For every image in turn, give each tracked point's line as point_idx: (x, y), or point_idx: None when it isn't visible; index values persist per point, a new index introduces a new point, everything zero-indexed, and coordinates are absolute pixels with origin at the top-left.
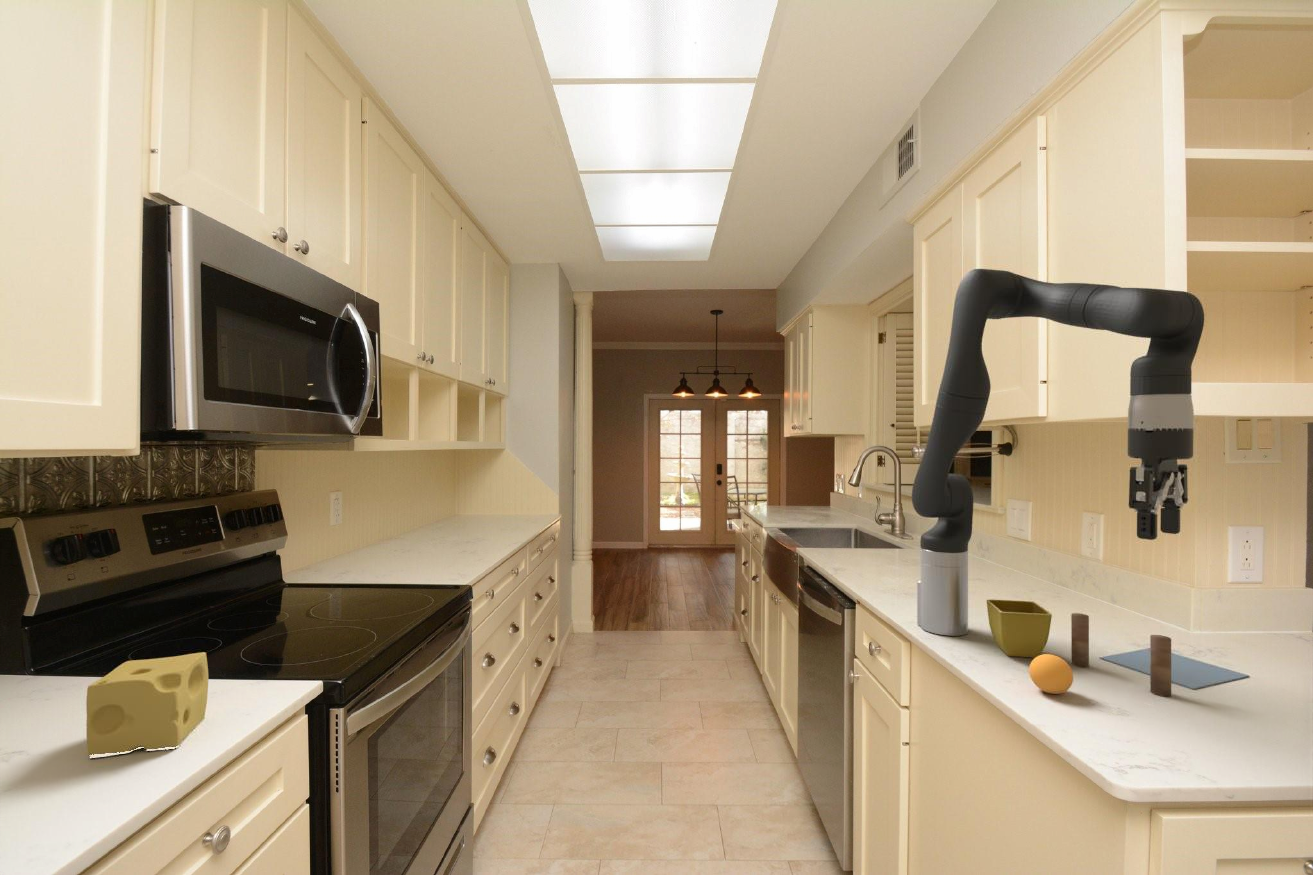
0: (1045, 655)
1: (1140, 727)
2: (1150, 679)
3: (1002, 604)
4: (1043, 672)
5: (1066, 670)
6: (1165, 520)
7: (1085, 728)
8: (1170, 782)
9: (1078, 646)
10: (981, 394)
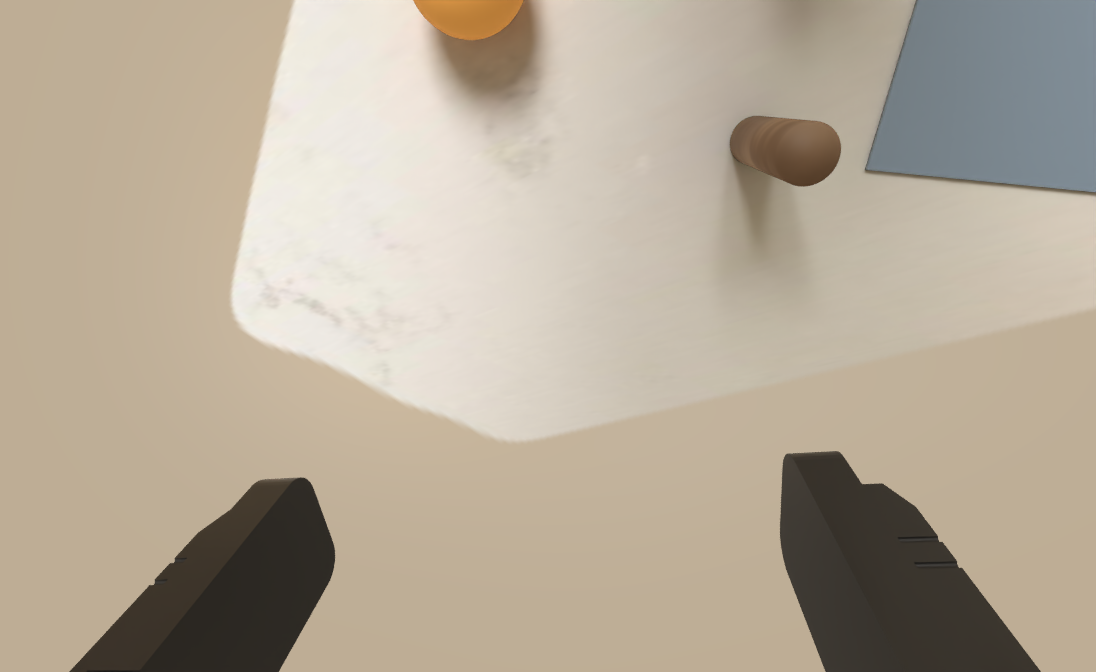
0: None
1: (481, 225)
2: (754, 119)
3: None
4: None
5: (457, 27)
6: (822, 569)
7: (362, 171)
8: (315, 354)
9: None
10: None
